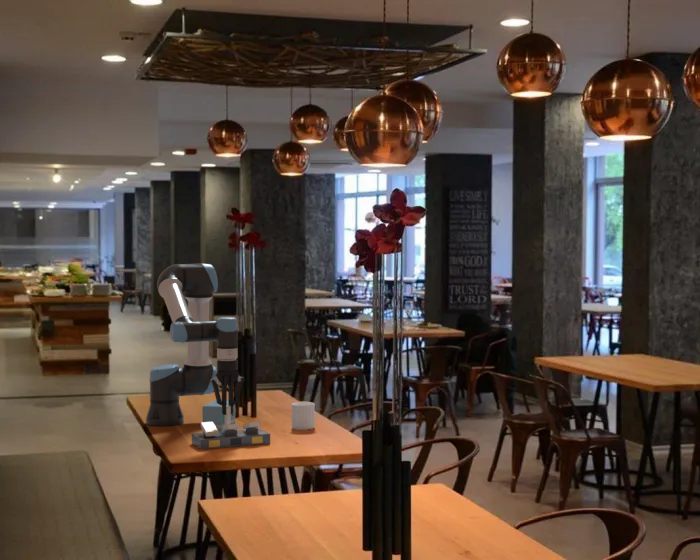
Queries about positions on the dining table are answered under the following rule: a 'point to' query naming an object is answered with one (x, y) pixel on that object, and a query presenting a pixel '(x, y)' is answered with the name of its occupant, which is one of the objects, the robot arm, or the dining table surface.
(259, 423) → the rocker
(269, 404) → the dining table surface
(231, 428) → the rocker
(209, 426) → the rocker
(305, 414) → the cup
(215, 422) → the radio
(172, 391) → the robot arm
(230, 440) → the console
